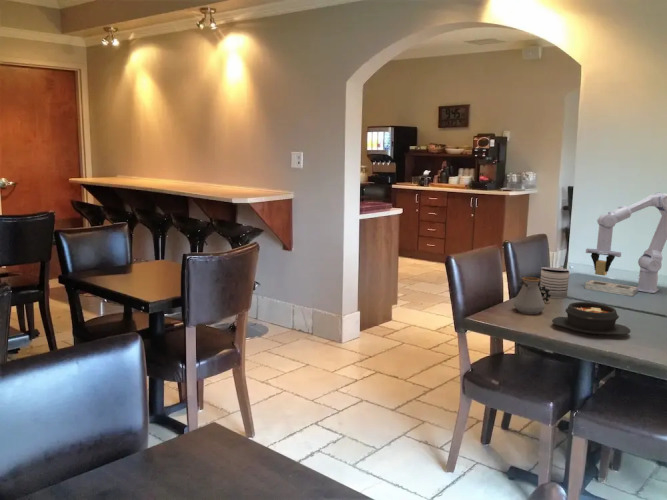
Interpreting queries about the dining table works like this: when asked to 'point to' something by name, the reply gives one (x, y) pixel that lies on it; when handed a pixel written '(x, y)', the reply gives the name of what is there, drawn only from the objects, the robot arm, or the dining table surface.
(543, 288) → the black upright ornate piece
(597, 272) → the brass block
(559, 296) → the striped ceramic pot
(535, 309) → the coffee pot
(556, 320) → the casserole
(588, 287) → the rail
